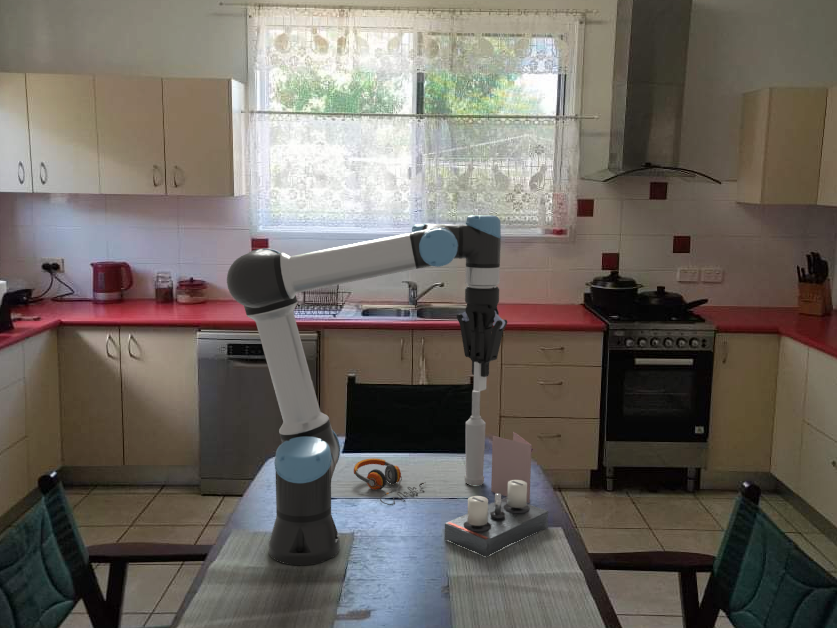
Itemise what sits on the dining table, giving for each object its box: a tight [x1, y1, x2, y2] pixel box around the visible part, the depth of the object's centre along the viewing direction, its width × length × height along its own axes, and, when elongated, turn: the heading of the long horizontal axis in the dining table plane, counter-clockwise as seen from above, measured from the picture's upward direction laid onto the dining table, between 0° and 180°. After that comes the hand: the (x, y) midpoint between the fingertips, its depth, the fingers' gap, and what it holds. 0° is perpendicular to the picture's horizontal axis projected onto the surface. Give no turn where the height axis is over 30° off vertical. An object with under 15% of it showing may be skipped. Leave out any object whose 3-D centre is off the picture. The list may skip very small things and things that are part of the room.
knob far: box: [506, 480, 527, 508], centre depth 187 cm, size 4×4×5 cm
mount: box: [444, 496, 549, 558], centre depth 183 cm, size 12×22×4 cm, turn 135°
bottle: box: [464, 389, 486, 486], centre depth 212 cm, size 5×5×25 cm
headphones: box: [353, 457, 427, 506], centre depth 210 cm, size 17×5×20 cm
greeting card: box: [490, 431, 533, 504], centre depth 205 cm, size 11×7×15 cm, turn 16°
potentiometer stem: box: [490, 493, 505, 520], centre depth 182 cm, size 3×3×5 cm
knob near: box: [467, 495, 489, 526], centre depth 177 cm, size 4×4×5 cm
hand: (479, 389), depth 182 cm, fingers closed
